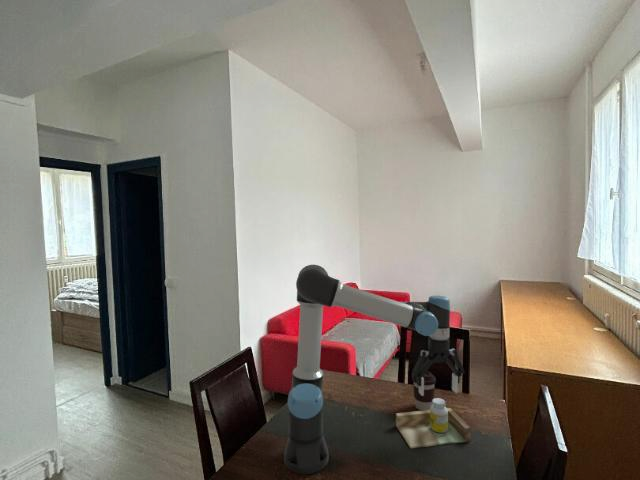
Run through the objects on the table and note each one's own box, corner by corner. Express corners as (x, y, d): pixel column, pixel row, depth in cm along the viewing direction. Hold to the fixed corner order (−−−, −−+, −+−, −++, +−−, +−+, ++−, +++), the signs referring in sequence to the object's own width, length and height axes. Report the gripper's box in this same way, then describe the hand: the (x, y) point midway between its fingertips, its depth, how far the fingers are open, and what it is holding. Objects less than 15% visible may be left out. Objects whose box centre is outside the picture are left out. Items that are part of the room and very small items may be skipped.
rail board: (410, 448, 121) (410, 434, 121) (396, 425, 135) (395, 413, 135) (470, 441, 124) (470, 427, 124) (450, 420, 138) (450, 407, 138)
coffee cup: (438, 414, 142) (437, 379, 142) (413, 412, 144) (413, 377, 143) (433, 402, 152) (433, 369, 152) (411, 400, 154) (410, 368, 153)
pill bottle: (431, 424, 134) (431, 395, 134) (449, 428, 131) (449, 398, 131) (428, 433, 129) (428, 402, 128) (446, 437, 126) (446, 406, 125)
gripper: (411, 342, 123) (410, 400, 124) (475, 338, 127) (474, 395, 128) (403, 335, 131) (402, 390, 131) (463, 332, 134) (462, 385, 135)
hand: (438, 392), depth 129 cm, fingers open, 13 cm apart
